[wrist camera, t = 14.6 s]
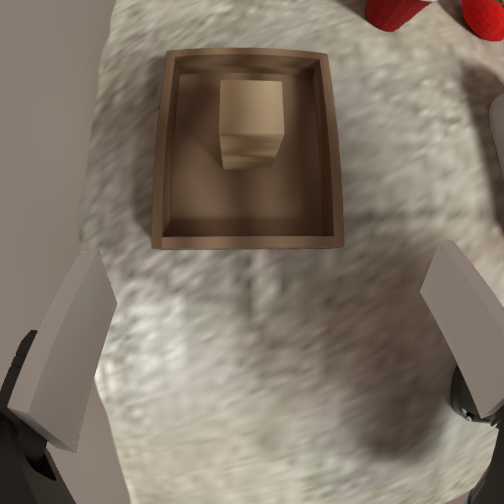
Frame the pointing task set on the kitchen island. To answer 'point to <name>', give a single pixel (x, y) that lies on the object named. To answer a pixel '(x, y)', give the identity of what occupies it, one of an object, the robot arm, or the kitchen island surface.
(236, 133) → the oak peg
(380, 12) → the plastic cup
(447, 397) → the kitchen island surface
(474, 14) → the tomato
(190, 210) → the walnut crate
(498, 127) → the grey compartment tray
